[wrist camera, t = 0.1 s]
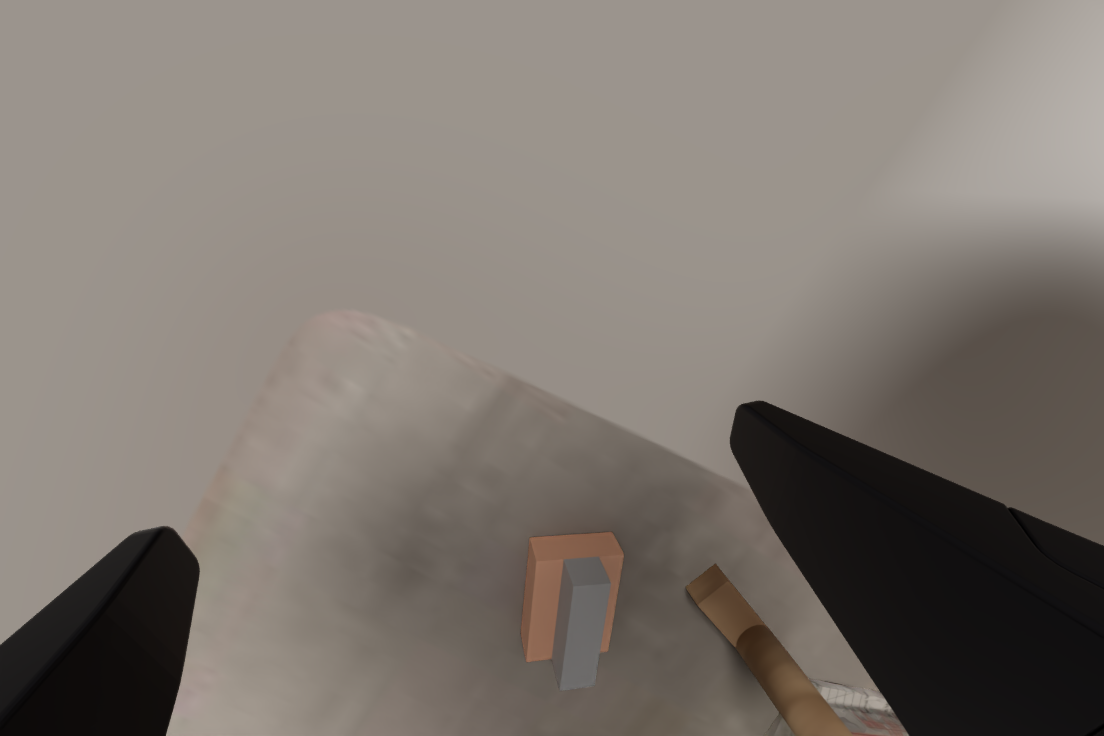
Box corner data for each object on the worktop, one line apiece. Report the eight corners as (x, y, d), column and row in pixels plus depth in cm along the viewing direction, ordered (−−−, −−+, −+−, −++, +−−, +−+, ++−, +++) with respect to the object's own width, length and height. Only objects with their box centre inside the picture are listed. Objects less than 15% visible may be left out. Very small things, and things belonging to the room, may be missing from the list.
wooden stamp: (760, 672, 36) (898, 870, 25) (684, 586, 31) (813, 784, 21) (787, 651, 36) (937, 840, 25) (715, 562, 31) (861, 748, 20)
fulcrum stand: (597, 624, 30) (619, 682, 27) (520, 633, 29) (532, 695, 25) (612, 531, 28) (638, 580, 25) (529, 537, 27) (544, 589, 23)
